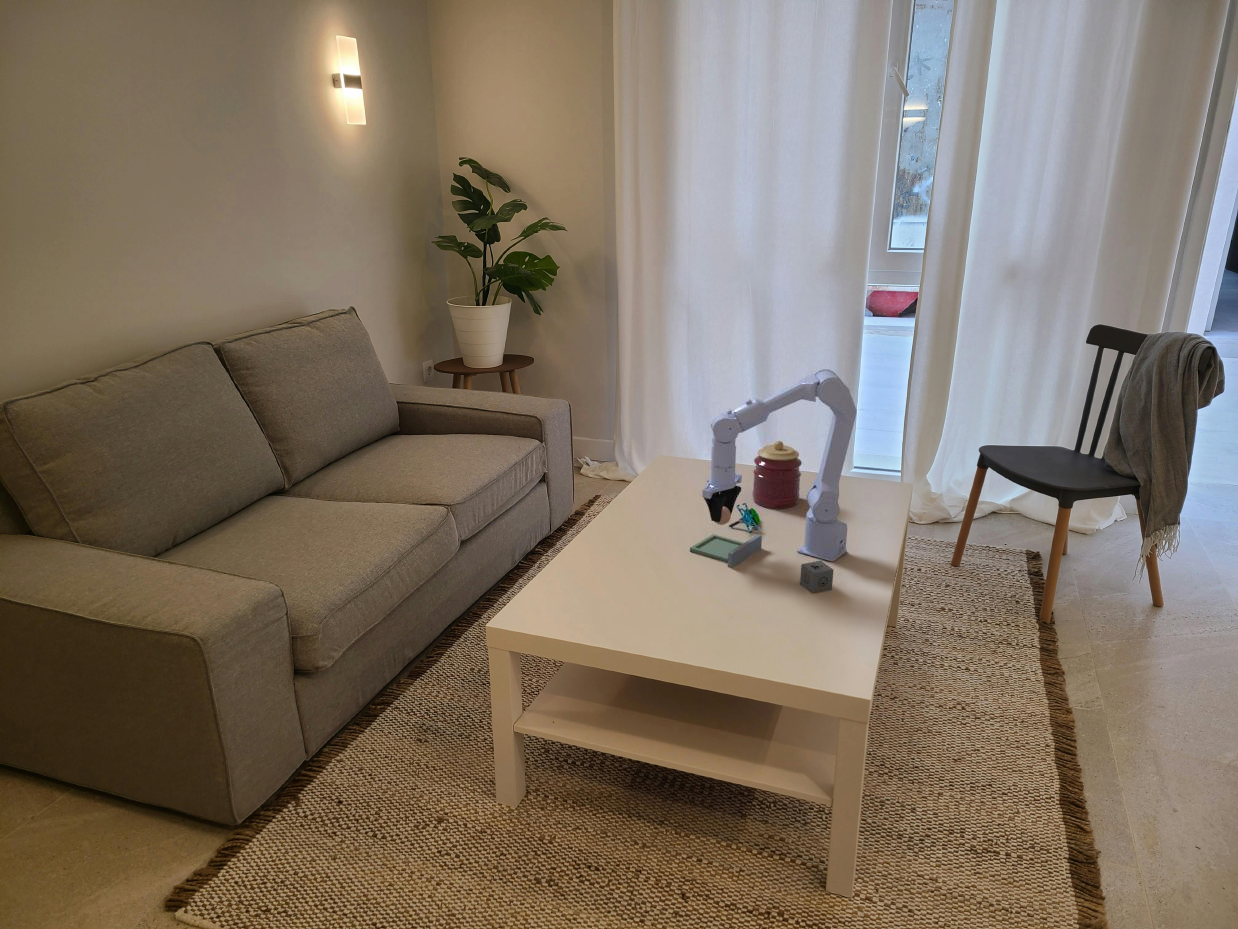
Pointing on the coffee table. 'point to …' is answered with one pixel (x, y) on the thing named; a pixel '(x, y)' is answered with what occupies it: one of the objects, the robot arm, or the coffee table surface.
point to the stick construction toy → (747, 517)
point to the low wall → (744, 550)
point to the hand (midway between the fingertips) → (721, 517)
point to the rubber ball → (724, 516)
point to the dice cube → (816, 577)
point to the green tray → (715, 547)
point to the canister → (777, 476)
